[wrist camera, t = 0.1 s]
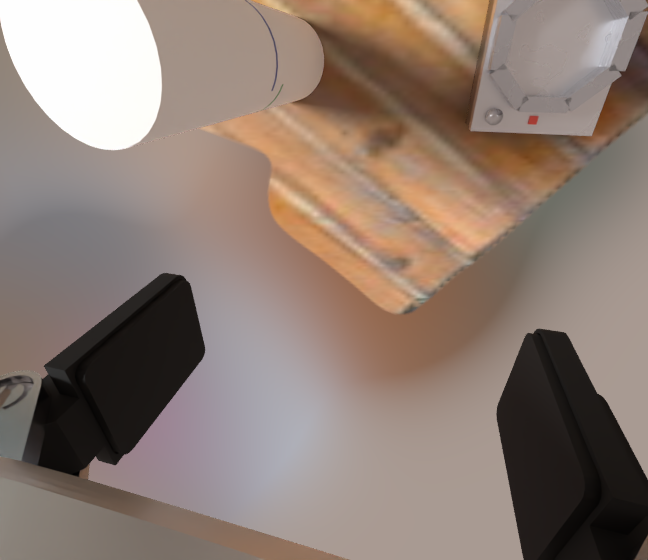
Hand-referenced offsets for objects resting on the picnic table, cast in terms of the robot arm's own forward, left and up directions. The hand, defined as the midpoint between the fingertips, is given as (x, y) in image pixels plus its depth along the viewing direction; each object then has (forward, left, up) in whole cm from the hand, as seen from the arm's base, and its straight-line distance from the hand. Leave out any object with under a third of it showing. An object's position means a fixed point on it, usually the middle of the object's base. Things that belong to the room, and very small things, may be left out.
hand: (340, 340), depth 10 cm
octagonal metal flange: (-8, +10, -31) cm, 34 cm away
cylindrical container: (-7, -12, -31) cm, 34 cm away
